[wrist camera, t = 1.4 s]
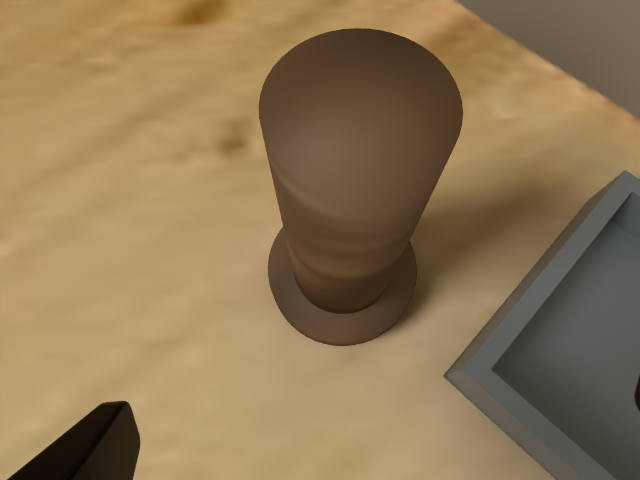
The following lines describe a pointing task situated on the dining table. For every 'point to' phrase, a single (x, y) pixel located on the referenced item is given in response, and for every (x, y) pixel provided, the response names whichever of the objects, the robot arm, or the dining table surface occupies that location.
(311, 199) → the handle
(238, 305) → the dining table surface
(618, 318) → the box
